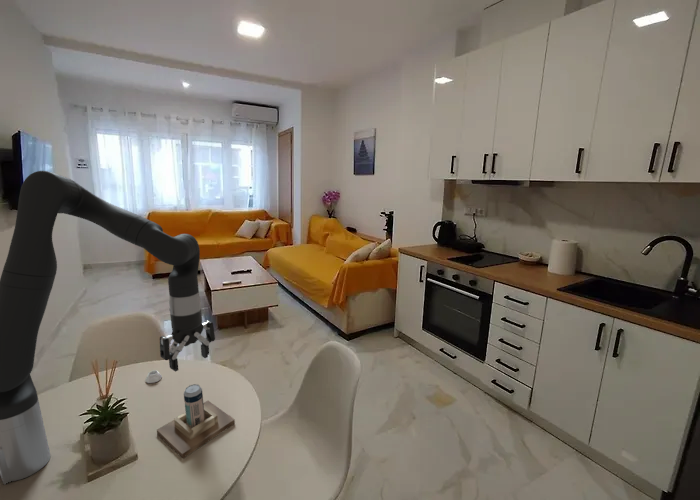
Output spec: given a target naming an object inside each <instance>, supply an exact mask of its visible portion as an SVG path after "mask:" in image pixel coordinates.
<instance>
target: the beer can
mask: <svg viewBox="0 0 700 500" xmlns="http://www.w3.org/2000/svg"><path fill="white" fill-rule="evenodd" d="M203 395H204V393H203V388H202V387H201V386H200V385H199V384H191V385H190V384H189V385H188V386H187V387H186V388H185V389H184V391H183V400H184V408H185V409H184V410H185V412H186V420H187V426H188V427H190V428H191V429H192V428H193V427H195V426H196V425H198V424H200V423H201V422H203V421H205V415H204V404H203V403H204V396H203Z"/></svg>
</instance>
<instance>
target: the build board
mask: <svg viewBox="0 0 700 500" xmlns="http://www.w3.org/2000/svg"><path fill="white" fill-rule="evenodd" d="M203 404H204V415H205V421H203V422H201V423H200V424H198V425H196V426H195V427H193V428H192V429H191V428H190V427H188V426H187V420H186V411H185V412H184V413H182V414H180V415H179V416H176V417H175V418H173V420H171V421H170V422H167V423H166V424H165V425H162V426H161V427H159V428H157V429H156V434H157V436H159V438H161V439H162V440H163V441H164V442H165V443H166V444H167V445H168V446H169V447H170V448H171V449H172V450H173V451H174V452H175V453H176V454H177V455H178V456H179V457H180V458H182V459H185V458H186V457H189V455H191V454H192V453H194V452H195V451H196V450H198V449H199V448H201V447H202V446H204V445H206V444H207V443H209V441H211V440H213V439H214V438H216V437H217V436H219V435H220V434H222V433H223V432H225V431H227V429H229V428H231V427H232V426H233V425H235V423H236V420H235V419H234V418H233V417H232V416H230V415H229V414H228V413H227V412H225V411H223V410H222V409H221V408H219V407H218V406H217V405H215V404H214V403H212V402H211V401H209V400H206V401H203Z"/></svg>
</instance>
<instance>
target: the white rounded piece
mask: <svg viewBox="0 0 700 500" xmlns="http://www.w3.org/2000/svg"><path fill="white" fill-rule="evenodd" d="M160 380H162V374H161V373H160V372H159V371H158V370H157V369H155V370H154V369H153V370H151V371H149V372H148V374H147V375H146V378H145V382H146V383H147V384H154V383H157V382H159V381H160Z"/></svg>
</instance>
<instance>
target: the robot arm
mask: <svg viewBox="0 0 700 500" xmlns="http://www.w3.org/2000/svg"><path fill="white" fill-rule="evenodd" d="M16 213H17V214H16V220H15V225H14V230H13V232H12V233H13V234H12V236H11V237H12V238H11V241H10V245H9V249H8V253H7V257H6V260H5V263H4V265H3V269H2V271H1V274H0V275H1V276H0V479H1V480H2V484H3V485H7V484H8V482H9V483H11V481H12V482H15V481H20V480H23V479H25V478H28V477H30V476H32V475H34V474H36V473H38V472H39V471H40V470H42V468H44V467H45V466H46V465H47V464H48V462H49V461H50V459H51V452H50V451H51V450H50V447H49V443H48V438H47V433H46V428H45V425H44V419H43V415H42V410H41V409H42V408H41V405H40V401H39V396H38V391H37V388H36V386H35V384H34V382H33V379H32V376H31V373H32V371H33V368H34V364H35V363H34V362H35V355H36V354H35V353H36V349H37V348H36V347H37V340H38V334H39V330H40V326H41V323H42V320H43V318H44V315H45V312H46V309H47V306H48V301H49V298H50V295H51V293H52V289H53V287H54V286H53V285H54V282H55V278H56V276H57V270H58V261H57V256H56V251H55V248H54V244H53V243H54V242H53V231H54V226H55V222H56V219H57V217H58V214H65V215H69V216H73V217H76V218H80V219H83V220H86V221H89V222H91V223H94V224H96V225H98V226H99V227H101V228H103V229H105V231H108V233H110V234H112V235H114V236H116V237H117V238H120V239H122V240H123V241H125V242H128V243H130V244H133V245H135V246H137V247H140V248H142V249H144V250H145V251H146V252H147V253H149V254H150V255H152V256H153V257H154V258H156V259H158V260H159V261H161V262H162V263H164V264H167V265H170V266H172V270H171V272H170V274H169V276H168V278H167V279H168V280H167V284H168V293H169V300H168V301H169V302H168V303H169V307H168V308H169V314H170V324H171V334H170V335H167V336H165V335H161V336H160V337H159V353H160V355H159V357H160V358H162V359H163V360H165V361H168V362H169V368H170V369H171V370H172V371H174V372H177V371H179V361H178V355H179V354H180V353H181V352H182V351H183V349H184V347H188V346H191V344H195V343H197V342H198V341H199V342H200V343H201V344H200V352H201V354H200V355H201V357H202V358H204V359H206V358H208V357H209V355H210V347H209V346H210V344H211V342H215V341H216V336H215V328H214V323H213V322H212V321H211V320H207V319H206V320H205V321H204V322H203V316H202V303H201V296H200V291H199V290H200V289H199V279H198V272H199V267H200V266H199V265H200V255H201V253H200V251H201V250H200V245H199V242H198V240H197V239H196V238H195V237H194V236H193V235H191V234H189V233H180V234H178V235H176V236H171V235H169V234H167V233H166V232H164V229H163V227H162V226H161V225H160V224H158V223H156V222H155V221H152V220H149V219H148V218H145V217H143V216H141V215H139V214H136V213H134V212H132V211H129V210H127V209H125V208H121V207H120V206H117V205H114V204H112V203H110V202H108V201H106V200H104V199H102V198H100V197H99V196H97V195H96V194H94V193H92V192H90V191H89V190H88V189H87V188H85V187H83V186H82V185H80V184H79V183H77V182H76V181H75V180H73V179H71V178H69V177H67V176H63V175H61V174H58V173H55V172H51V171H48V170H38V171H33V172H31V174H29V175H28V176H27V177H25V179H24V181H23V182H22V184H21V187H20V190H19V197H18V205H17V212H16ZM204 330H205V334H206V335H205V336H206V337H204V336H203V335H202V332H203V331H204ZM172 341H173V342H172ZM171 342H172V343H171ZM170 345H171V346H170ZM6 483H7V484H6Z"/></svg>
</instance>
